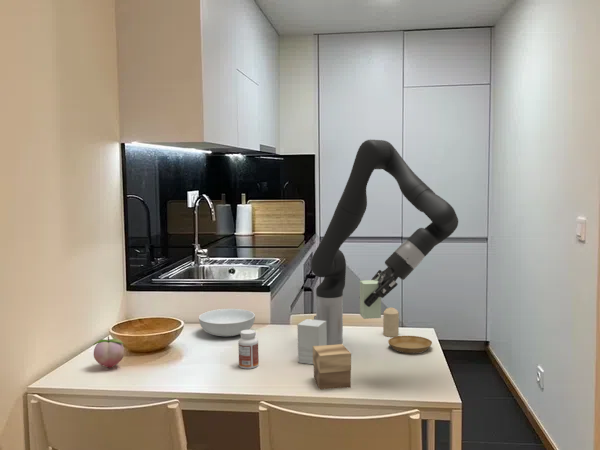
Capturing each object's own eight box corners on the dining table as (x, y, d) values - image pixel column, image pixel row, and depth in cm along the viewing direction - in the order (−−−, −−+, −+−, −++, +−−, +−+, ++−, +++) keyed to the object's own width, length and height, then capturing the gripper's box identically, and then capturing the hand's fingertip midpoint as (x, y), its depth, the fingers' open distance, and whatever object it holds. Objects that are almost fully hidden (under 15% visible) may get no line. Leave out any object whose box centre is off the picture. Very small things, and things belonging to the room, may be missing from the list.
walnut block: (313, 378, 180) (313, 362, 179) (343, 376, 181) (343, 360, 181) (319, 390, 171) (319, 372, 170) (350, 388, 172) (350, 370, 172)
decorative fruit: (126, 362, 195) (125, 331, 194) (123, 370, 187) (122, 339, 186) (96, 364, 193) (94, 333, 192) (91, 372, 185) (90, 340, 184)
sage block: (359, 314, 178) (359, 280, 177) (376, 313, 178) (376, 280, 177) (363, 318, 173) (363, 284, 172) (380, 317, 173) (381, 283, 172)
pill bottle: (254, 361, 195) (253, 327, 194) (261, 367, 189) (261, 332, 188) (236, 364, 192) (235, 330, 191) (242, 370, 187) (242, 335, 185)
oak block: (312, 362, 179) (312, 346, 178) (342, 360, 181) (342, 344, 180) (320, 373, 170) (320, 355, 170) (351, 370, 172) (351, 353, 172)
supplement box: (327, 358, 197) (327, 320, 196) (318, 365, 190) (318, 326, 189) (306, 355, 200) (306, 318, 199) (297, 362, 193) (296, 323, 192)
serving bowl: (187, 335, 224) (186, 317, 224) (225, 323, 241) (224, 306, 241) (229, 345, 212) (229, 325, 212) (266, 331, 229) (266, 313, 229)
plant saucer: (379, 350, 206) (379, 342, 206) (402, 340, 218) (402, 332, 217) (418, 359, 197) (418, 351, 197) (439, 347, 208) (439, 340, 208)
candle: (398, 337, 220) (398, 310, 219) (382, 336, 221) (383, 309, 220) (398, 333, 225) (399, 306, 224) (383, 332, 226) (384, 306, 225)
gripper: (389, 247, 181) (349, 288, 181) (403, 254, 167) (360, 299, 167) (406, 264, 183) (366, 305, 182) (421, 273, 169) (379, 317, 168)
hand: (364, 302), depth 175 cm, fingers closed on sage block, 5 cm apart
